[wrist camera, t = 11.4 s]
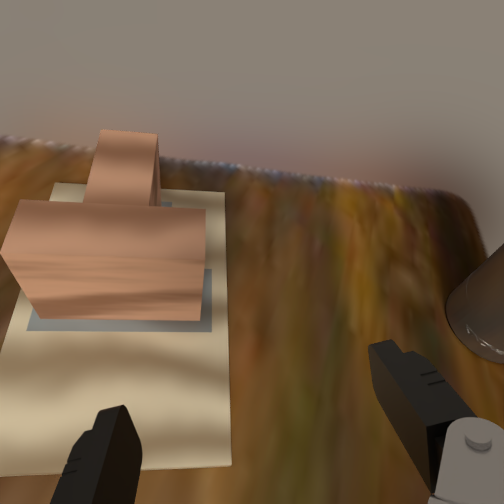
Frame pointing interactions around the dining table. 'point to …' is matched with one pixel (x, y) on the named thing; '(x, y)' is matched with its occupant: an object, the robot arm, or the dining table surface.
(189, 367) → the board
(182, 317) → the T block
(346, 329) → the dining table surface
